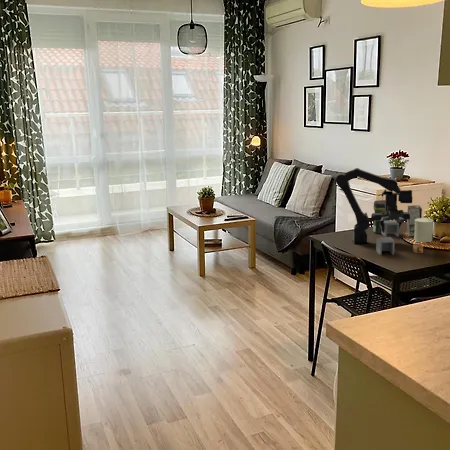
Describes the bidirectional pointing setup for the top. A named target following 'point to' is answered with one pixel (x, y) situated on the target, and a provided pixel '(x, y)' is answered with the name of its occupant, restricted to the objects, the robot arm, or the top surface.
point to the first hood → (385, 245)
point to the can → (423, 230)
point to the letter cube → (418, 248)
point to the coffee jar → (380, 208)
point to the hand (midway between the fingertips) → (390, 232)
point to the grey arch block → (390, 228)
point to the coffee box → (413, 218)
